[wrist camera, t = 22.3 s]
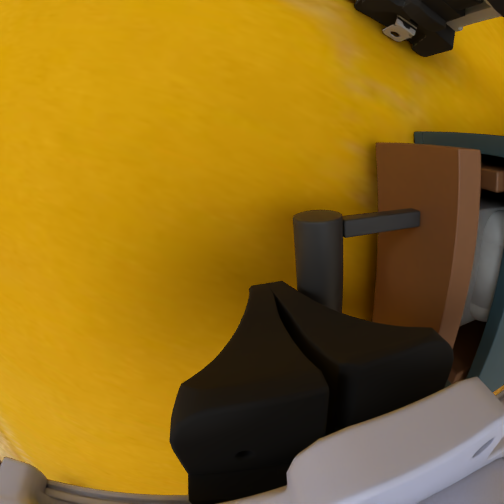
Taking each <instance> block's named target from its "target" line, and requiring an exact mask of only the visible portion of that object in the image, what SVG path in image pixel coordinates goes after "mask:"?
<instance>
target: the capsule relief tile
mask: <svg viewBox="0 0 504 504" xmlns="http://www.w3.org/2000/svg"><path fill="white" fill-rule="evenodd" d="M503 249H504V202H503V201H500V200H497V199H494V198H490V197H480V208H479V221H478V231H477V239H476V247H475V254H474V261H473V267H472V272H471V278H470V283H469V288H468V293H467V297H466V302H465V306H464V310H463V314H462V318H461V322H460V325H459V326H462V325H464V324H467V323H469V322H471V321H473V320H478V321H482V322H487V319H488V315H489V312H490V308H491V305H492V301H493V297H494V293H495V289H496V285H497V280H498V276H499V271H500V266H501V261H502V255H503Z"/></svg>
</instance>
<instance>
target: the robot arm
mask: <svg viewBox="0 0 504 504" xmlns="http://www.w3.org/2000/svg"><path fill="white" fill-rule="evenodd" d="M453 360H454V356H453V349H452V348H451V346H450V344H449V343H448V342H447V341H446V340H445V339H444V338H442V337H441V336H440V335H439V334H438V333H437V332H436V331H435V330H434V329H433V328H432V327H403V326H394V325H387V324H381V323H375V322H371V321H366V320H362V319H358V318H355V317H352V316H349V315H346V314H343V313H340V312H338V311H335V310H333V309H330V308H328V307H326V306H324V305H322V304H320V303H318V302H316V301H314V300H312V299H310V298H309V297H307V296H305V295H304V294H302V293H300V292H299V291H297V290H296V289H294V288H292V287H291V286H289V285H288V284H286V283H285V282H283V281H278V282H272V283H266V284H260V285H253V286H251V287H250V288H249V299H248V303H247V306H246V310H245V312H244V315H243V317H242V319H241V322H240V324H239V326H238V328H237V330H236V331H235V333H234V335H233V336H232V338H231V339H230V341H229V342H228V343H227V345H226V346H225V347H224V349H223V350H222V351H221V352H220V354H219V355H218V356H217V357H216V358H215V359H214V360H213V361H212V362H211V363H209V364H208V365H207V366H206V367H205V368H204V369H202V370H201V371H200V372H198V373H197V374H195V375H194V376H193V377H191V378H190V379H188V380H187V381H185V382H184V383H182V384H181V386H180V388H179V391H178V394H177V397H176V400H175V404H174V408H173V412H172V417H171V428H170V444H171V446H172V449H173V451H174V453H175V454H176V456H177V457H178V459H179V461H180V462H181V464H182V465H183V467H184V468H185V470H186V471H187V473H188V494H189V495H147V494H133V493H122V492H113V491H105V490H98V489H91V488H85V487H80V486H75V485H70V484H65V483H61V482H56V481H52V480H48V479H47V478H46V477H45V476H44V474H43V473H42V472H40V471H39V470H38V469H37V468H35V467H34V466H32V465H30V464H28V463H25V462H22V461H18V460H15V459H12V458H9V457H4V459H3V461H2V464H1V466H0V504H504V390H503V391H501V392H500V393H499V394H497V395H496V396H495V395H494V394H493V393H492V392H491V391H490V389H489V388H488V387H487V386H486V385H485V384H484V383H483V382H482V381H481V380H480V379H479V378H478V377H472V378H468V379H465V380H462V381H458V382H456V383H454V384H452V385H450V386H448V387H446V388H444V387H445V385H446V382H447V380H448V377H449V374H450V372H451V368H452V364H453Z"/></svg>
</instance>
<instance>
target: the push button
mask: <svg viewBox="0 0 504 504" xmlns="http://www.w3.org/2000/svg"><path fill="white" fill-rule="evenodd" d="M354 7H355V8H356V9H357V10H358V11H360V12H362V13H364V14H366V15H367V16H369V17H371V18H373V19H374V20H376V21H378V22H379V23H381V24H383V25H384V26H386V27H387V28H385V29H383V33H384V34H386V35H387V36H389V37H390V38H392V39H393V40H395V41H398V42H401V41H403V40H405V39H406V40H407V41H409V42H410V43H412V44H413V46H412V49H413V50H414V51H415V52H416V53H418V54H419V55H421V56H423V57H428V56H431V55H434V54H438V53H442V52H445V51H449V50H452V49H453V43H454V36H455V31H460V30H462V29H463V26H466V25H469V24H473V23H476V22H480V21H483V20H487V19H491V18H495V17H499V16H503V17H504V0H356V2H355V5H354ZM392 31H393V32H395V33H397V34H398V35H400V36H394V35H393V34H391V32H392Z"/></svg>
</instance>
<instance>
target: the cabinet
mask: <svg viewBox="0 0 504 504" xmlns="http://www.w3.org/2000/svg"><path fill="white" fill-rule="evenodd" d="M414 139H415V144H427V145H440V146H451V147H460V148H469V149H477V150H480V151H481V160H491V161H504V136H497V135H486V134H473V133H456V132H414ZM472 377H478V378H479V379H480V380H481V381H482V382H483V383H484V384H485V385H486V386H487V387H488V388H489V389H490V391H491V392H494V391H495V390H497V389H498V388H500V387H501V386H503V385H504V249H503V255H502V261H501V266H500V271H499V276H498V280H497V285H496V289H495V293H494V297H493V301H492V305H491V308H490V312H489V315H488V319H487V322H486V325H485V329H484V332H483V335H482V338H481V341H480V344H479V346H478V349H477V352H476V355H475V357H474V360H473V362H472V365H471V368H470V370H469V372H468V375H467V377H466V378H465V379H468V378H472ZM465 379H463V380H465ZM461 381H462V380H461ZM450 385H452V384H451V383H450V381H449V380H447V382H446V385H445V387H444V388H446V387H448V386H450Z"/></svg>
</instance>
